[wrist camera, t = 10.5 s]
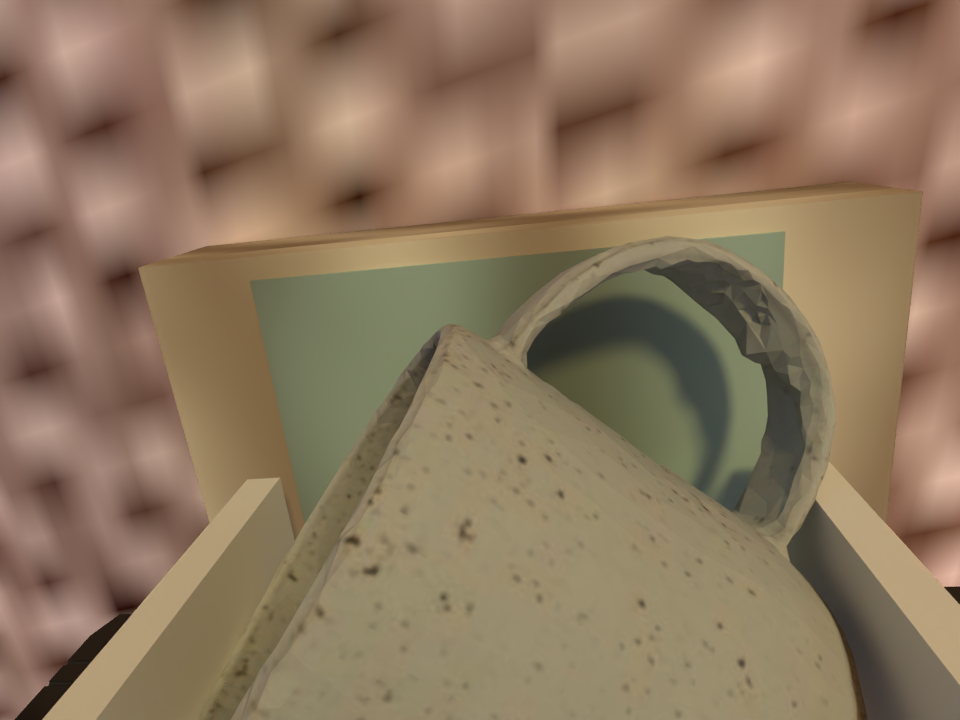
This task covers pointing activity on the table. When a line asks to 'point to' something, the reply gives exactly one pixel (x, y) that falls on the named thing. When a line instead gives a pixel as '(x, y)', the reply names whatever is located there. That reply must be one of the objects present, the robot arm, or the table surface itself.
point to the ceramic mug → (557, 543)
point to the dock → (555, 350)
